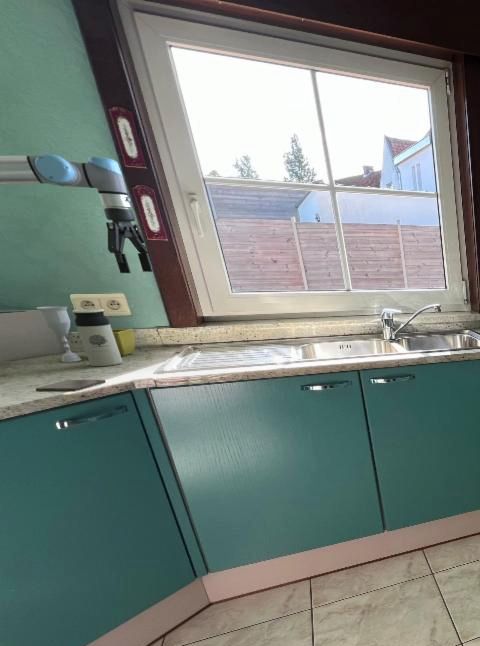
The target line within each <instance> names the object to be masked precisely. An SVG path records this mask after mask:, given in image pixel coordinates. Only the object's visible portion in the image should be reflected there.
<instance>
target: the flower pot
mask: <svg viewBox="0 0 480 646" xmlns="http://www.w3.org/2000/svg"><path fill="white" fill-rule="evenodd" d="M111 329H112V332H113V335H114V338H115V341H116V344H117V347H118V350H119V353H120V356H121V357H124V356H128V355H132V354H133V353H134V350H135V347H136V338H135V333H134V329H133V328H111Z"/></svg>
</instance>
